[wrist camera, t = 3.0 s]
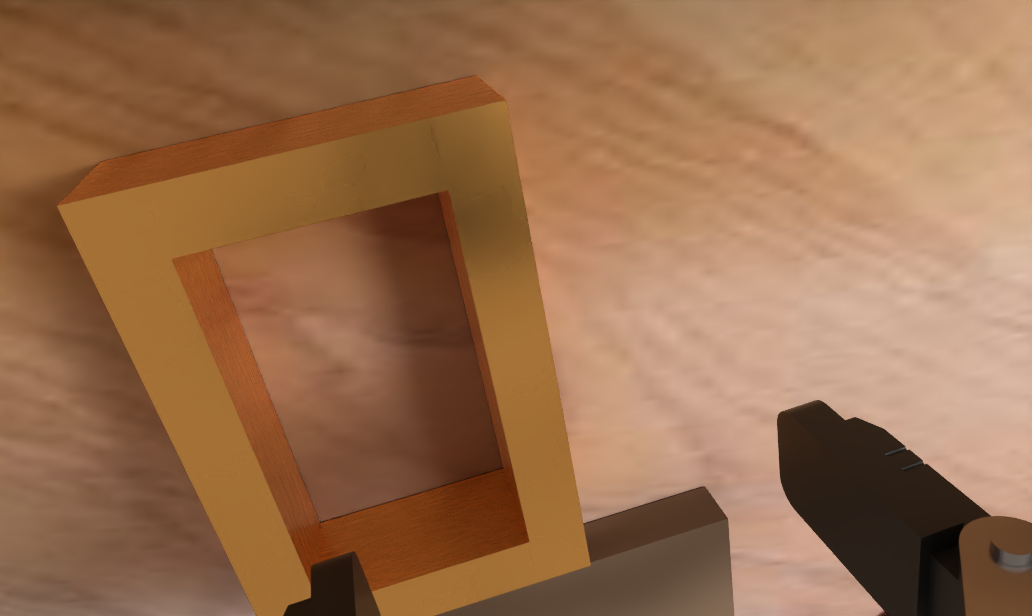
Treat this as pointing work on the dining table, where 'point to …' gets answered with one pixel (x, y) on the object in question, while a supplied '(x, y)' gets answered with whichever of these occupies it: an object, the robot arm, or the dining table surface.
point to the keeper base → (637, 567)
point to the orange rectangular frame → (237, 380)
